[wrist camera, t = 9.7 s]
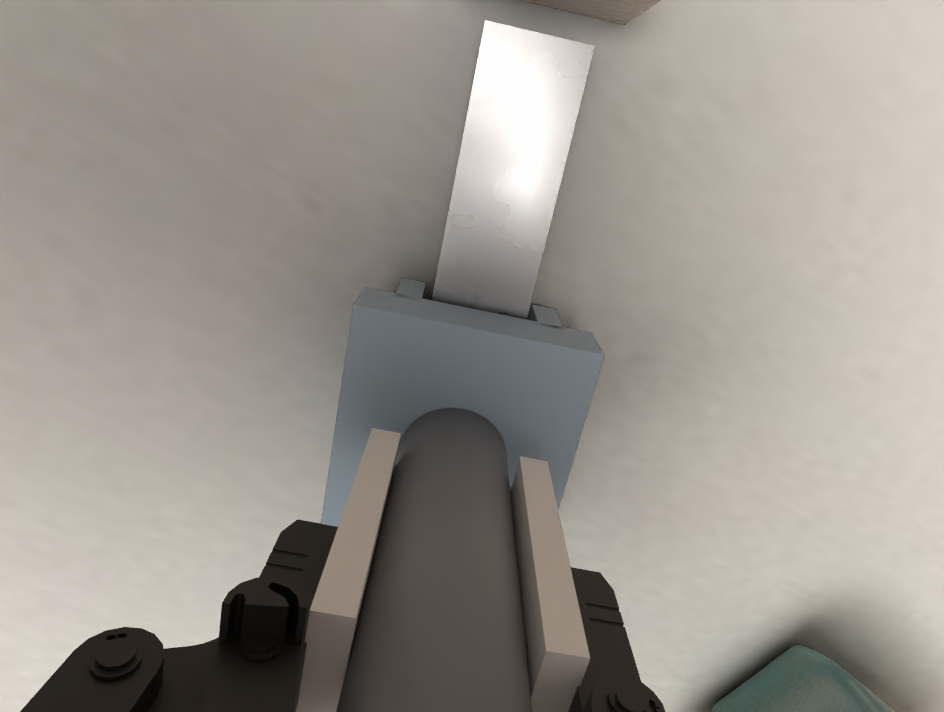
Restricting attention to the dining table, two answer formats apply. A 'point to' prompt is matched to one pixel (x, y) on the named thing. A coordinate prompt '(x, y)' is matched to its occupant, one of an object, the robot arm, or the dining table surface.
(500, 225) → the rail
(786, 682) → the flower pot
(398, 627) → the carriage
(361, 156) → the dining table surface
